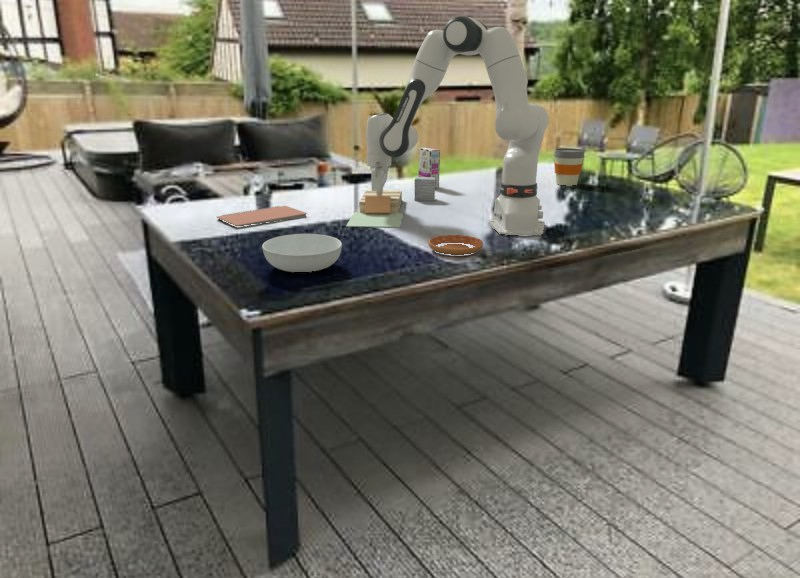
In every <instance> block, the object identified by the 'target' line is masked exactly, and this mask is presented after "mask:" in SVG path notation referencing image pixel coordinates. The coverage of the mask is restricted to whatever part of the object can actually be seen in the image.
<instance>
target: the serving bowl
mask: <svg viewBox="0 0 800 578" xmlns="http://www.w3.org/2000/svg"><path fill="white" fill-rule="evenodd" d="M261 248H262V252H263V255H264V259H266V261H267V262H268V263H269V264H270V265H271V266H272V267H274V268H276V269H278V270H281V271H284V272H290V273H294V272H309V273H313V272H312V271H314V272H316V271H322V270H323V269H326V268H329V267H331V266H332V265H333V264H335V262H336V261H338V259H339V257H340V256H341V253H342V248H343V243H342V242H341V240H340V239H338V238H336V237H333V236H330V235H325V234H319V233H318V234H317V233H293V234H286V235H280V236H276V237H273V238H270V239H268V240H266V241H264V242H263V244H262V246H261Z"/></svg>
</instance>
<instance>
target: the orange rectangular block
mask: <svg viewBox="0 0 800 578" xmlns="http://www.w3.org/2000/svg"><path fill="white" fill-rule="evenodd" d="M390 206H391V197H390V196H365V214H390Z"/></svg>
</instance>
